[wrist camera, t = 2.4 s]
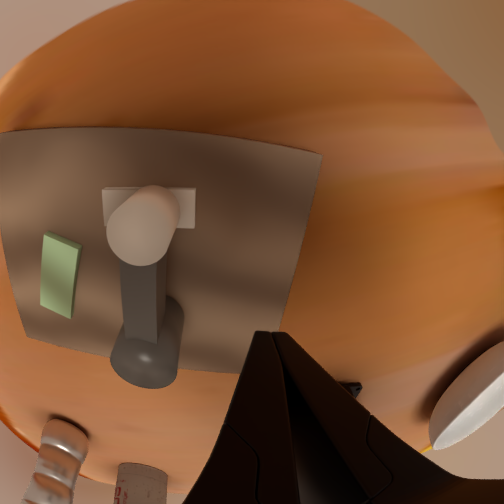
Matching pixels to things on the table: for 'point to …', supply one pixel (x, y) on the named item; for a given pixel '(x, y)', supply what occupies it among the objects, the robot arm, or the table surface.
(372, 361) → the table surface
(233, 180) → the board
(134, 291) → the peg
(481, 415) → the serving bowl
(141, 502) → the thermos bottle
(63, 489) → the plastic bottle
